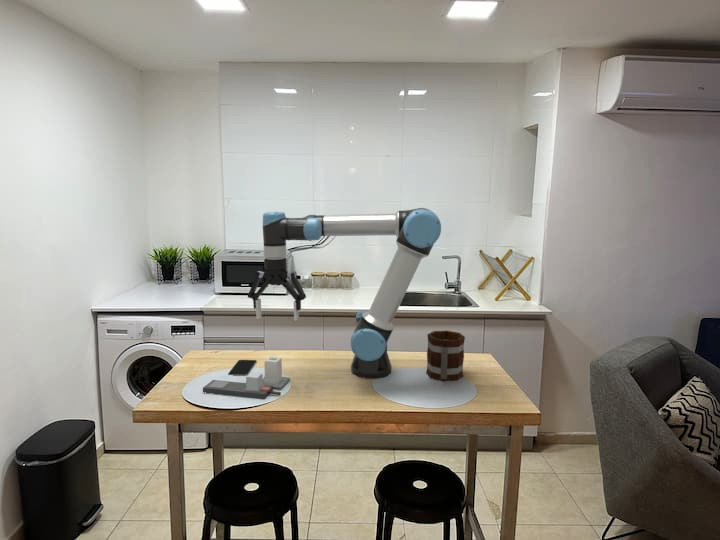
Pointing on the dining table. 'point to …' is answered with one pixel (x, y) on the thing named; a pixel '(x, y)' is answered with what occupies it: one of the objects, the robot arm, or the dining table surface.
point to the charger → (273, 370)
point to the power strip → (238, 389)
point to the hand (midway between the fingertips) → (277, 318)
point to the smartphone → (242, 367)
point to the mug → (445, 356)
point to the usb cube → (254, 381)
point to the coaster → (280, 384)
